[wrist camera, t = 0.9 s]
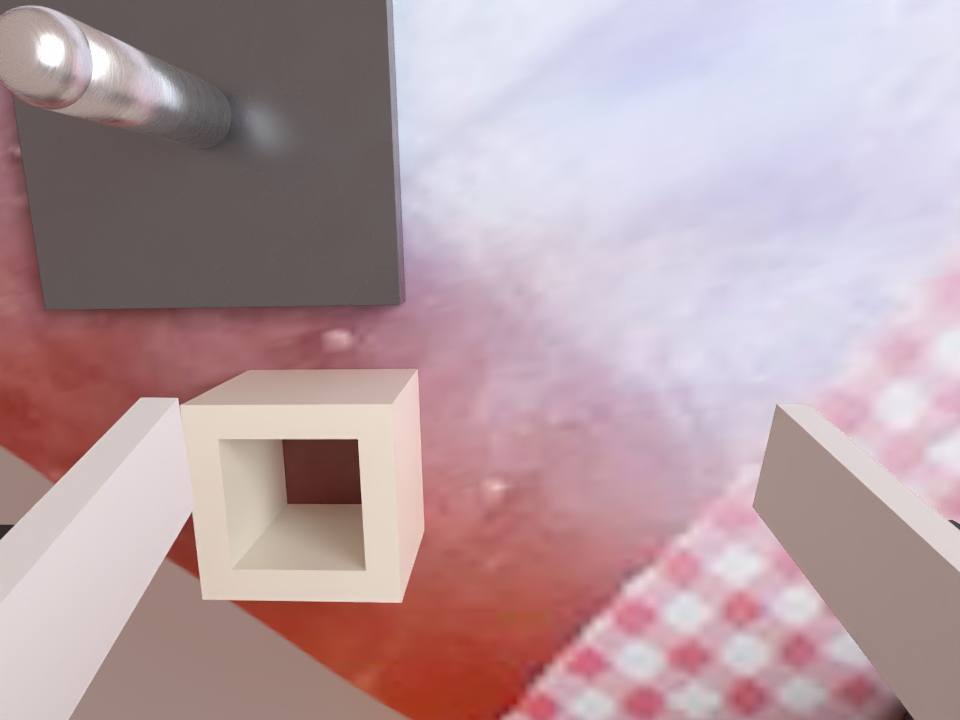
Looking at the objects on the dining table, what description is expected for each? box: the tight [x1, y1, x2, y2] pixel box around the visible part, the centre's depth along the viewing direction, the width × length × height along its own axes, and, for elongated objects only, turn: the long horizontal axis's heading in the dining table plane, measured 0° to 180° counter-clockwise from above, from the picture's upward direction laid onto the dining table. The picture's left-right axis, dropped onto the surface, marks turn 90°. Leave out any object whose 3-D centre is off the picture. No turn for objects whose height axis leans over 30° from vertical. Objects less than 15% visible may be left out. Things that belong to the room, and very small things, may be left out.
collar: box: [180, 369, 424, 603], centre depth 31 cm, size 9×9×7 cm
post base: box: [0, 0, 405, 310], centre depth 25 cm, size 18×18×13 cm
